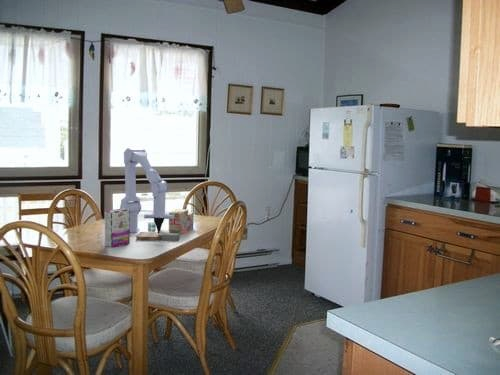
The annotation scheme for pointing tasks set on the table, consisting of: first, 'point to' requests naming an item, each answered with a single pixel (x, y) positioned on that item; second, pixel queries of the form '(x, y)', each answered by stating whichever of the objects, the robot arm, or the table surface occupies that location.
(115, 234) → the candy bar box
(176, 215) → the stack of blocks
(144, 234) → the board
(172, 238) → the tray
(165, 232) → the tile
